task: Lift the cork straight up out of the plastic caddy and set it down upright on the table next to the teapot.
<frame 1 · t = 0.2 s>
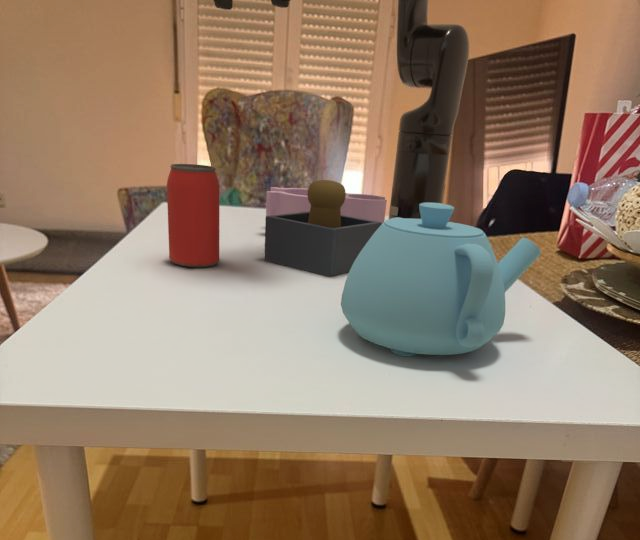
hand: (250, 7, 70), 29 cm above the table, tool pointing down, fingers open, 8 cm apart
beer can: (194, 264, 84), on the table
teapot: (437, 340, 62), on the table
caddy: (321, 262, 89), on the table
cork: (321, 264, 89), resting in caddy
clip: (324, 237, 109), on the table
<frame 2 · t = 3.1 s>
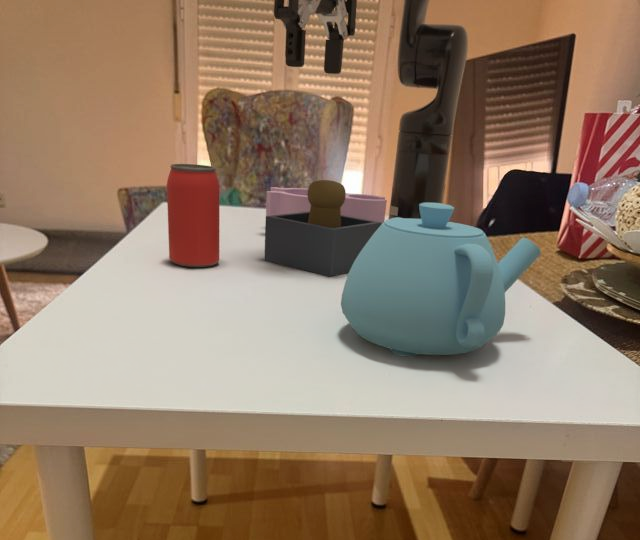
hand: (314, 70, 77), 24 cm above the table, tool pointing down, fingers open, 8 cm apart
nothing on the table moved.
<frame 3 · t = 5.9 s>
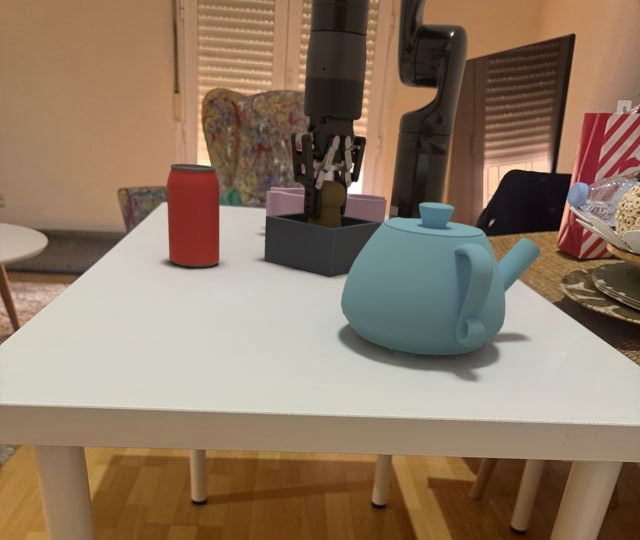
hand: (325, 215, 86), 6 cm above the table, tool pointing down, fingers closed on cork, 5 cm apart
cork: (321, 264, 89), resting in caddy, touching gripper
everything else where it was.
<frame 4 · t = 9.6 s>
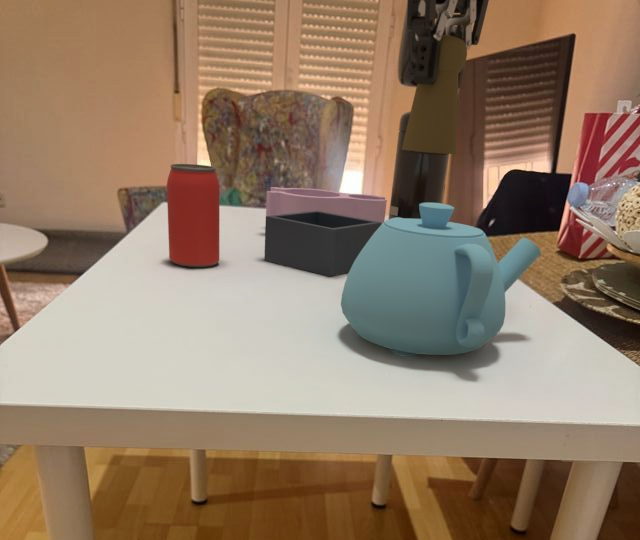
hand: (437, 85, 67), 23 cm above the table, tool pointing down, fingers closed on cork, 5 cm apart
cork: (428, 153, 70), point 16 cm above the table, touching gripper
everything else where it was.
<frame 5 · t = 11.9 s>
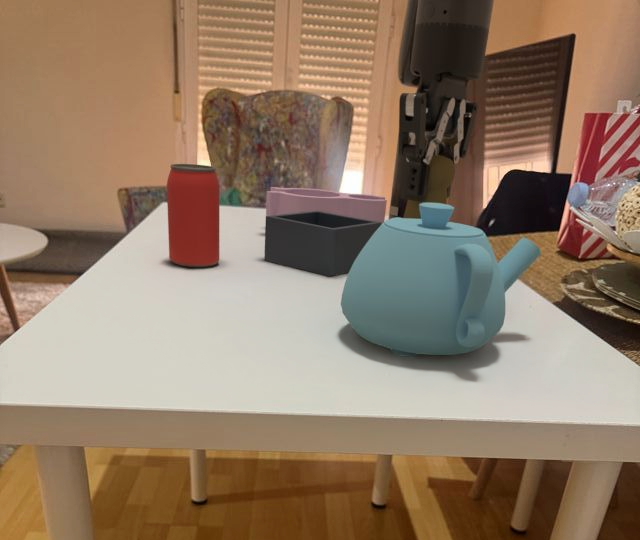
hand: (427, 198, 71), 11 cm above the table, tool pointing down, fingers closed on cork, 5 cm apart
cork: (419, 257, 74), point 5 cm above the table, touching gripper
everything else where it was.
when the fingers open (6 cm above the table, at t = 13.6 s): cork stays where it is, on the table.
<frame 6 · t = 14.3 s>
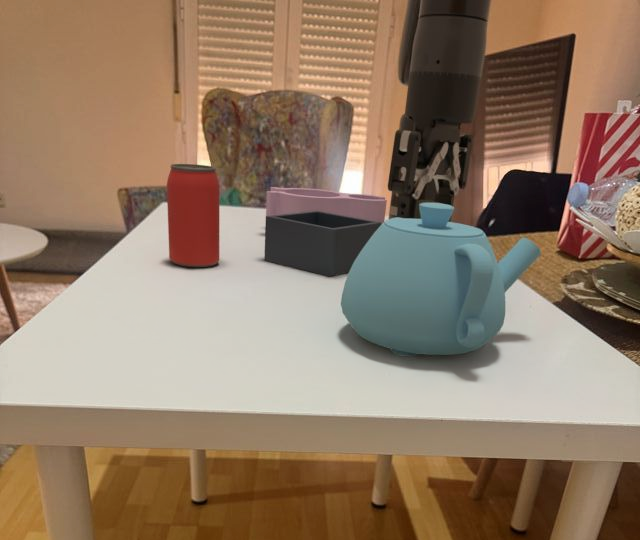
hand: (423, 230, 73), 8 cm above the table, tool pointing down, fingers open, 8 cm apart
cork: (413, 296, 77), on the table
everything else where it was.
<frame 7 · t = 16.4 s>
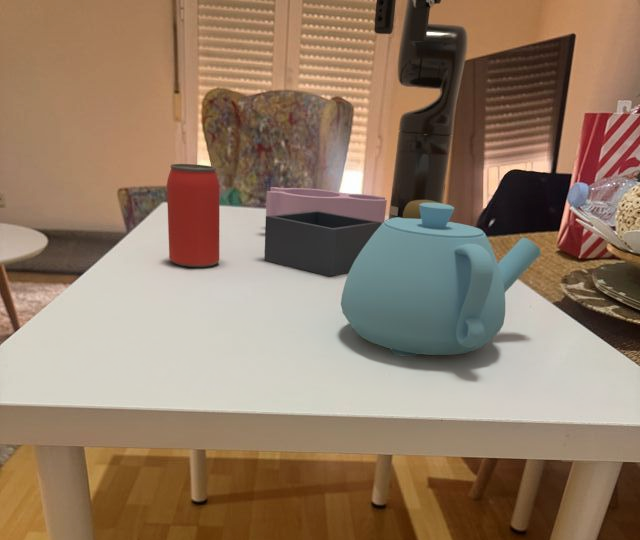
hand: (400, 37, 79), 28 cm above the table, tool pointing down, fingers open, 8 cm apart
nothing on the table moved.
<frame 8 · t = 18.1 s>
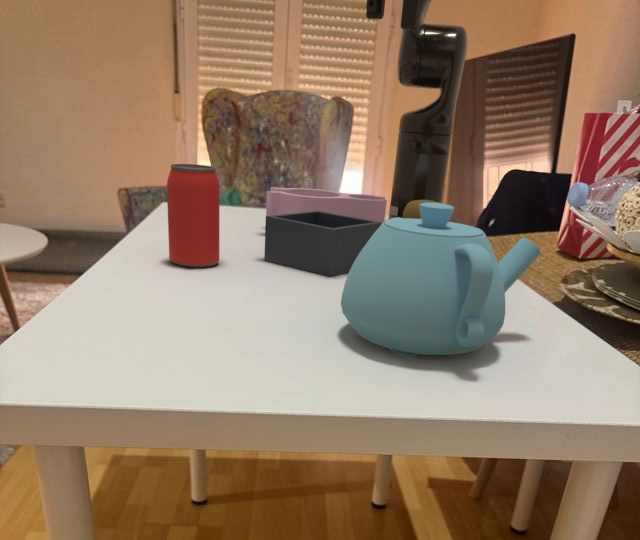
hand: (392, 24, 81), 30 cm above the table, tool pointing down, fingers open, 8 cm apart
nothing on the table moved.
at the end: cork inside the target area on the table beside the teapot (0.1 cm from its centre), on the table; cork tilted 0°; the gripper is holding nothing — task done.
